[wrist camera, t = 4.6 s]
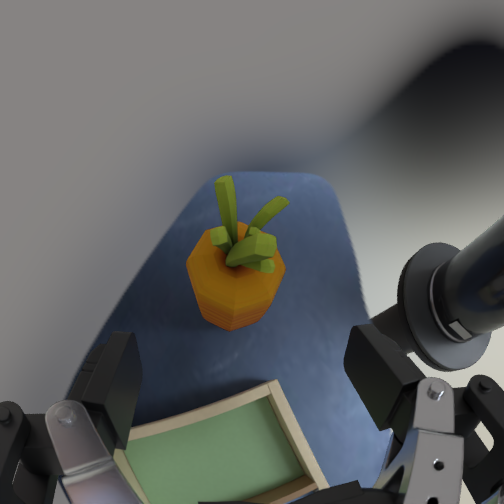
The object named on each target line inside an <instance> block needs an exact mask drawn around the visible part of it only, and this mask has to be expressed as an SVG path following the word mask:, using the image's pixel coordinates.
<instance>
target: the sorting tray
mask: <svg viewBox="0 0 504 504" xmlns="http://www.w3.org/2000/svg"><path fill="white" fill-rule="evenodd" d="M113 459H114V460H115V462H116V463H117V465H118V467H119V468H120V470H121V471H122V473H123V474H124V476H125V477H126V479H127V480H128V482H129V483H130V485H131V486H132V487H133V489H134V490H135V492H136V493H137V494H138V496H139V497H140V499H141V500H142V501H143V502H144V504H198V501H199V502H220V501H245V502H253V503H263V504H288V503H291V502H293V501H296V500H298V499H301V498H303V497H306V496H308V495H310V494H313V493H315V492H317V491H319V490H321V489H325V488H329V485H328V483H327V481H326V479H325V477H324V475H323V473H322V471H321V469H320V467H319V465H318V463H317V461H316V459H315V457H314V455H313V453H312V451H311V449H310V447H309V445H308V443H307V441H306V439H305V437H304V435H303V433H302V430H301V428H300V426H299V424H298V422H297V420H296V418H295V416H294V414H293V412H292V410H291V408H290V405H289V403H288V401H287V399H286V397H285V395H284V393H283V391H282V388H281V386H280V384H279V382H278V380H277V379H275V380H270V381H267V382H265V383H262V384H260V385H257V386H255V387H253V388H250V389H248V390H245V391H243V392H240V393H238V394H235V395H233V396H230V397H227V398H225V399H222V400H219V401H217V402H214V403H211V404H208V405H205V406H202V407H199V408H196V409H193V410H190V411H187V412H184V413H181V414H178V415H175V416H171V417H168V418H165V419H161V420H158V421H154V422H150V423H147V424H143V425H139V426H135V427H131V429H130V433H129V438H128V443H127V448H126V450H121V449H115V452H114V456H113Z"/></svg>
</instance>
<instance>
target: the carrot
mask: <svg viewBox="0 0 504 504" xmlns="http://www.w3.org/2000/svg"><path fill="white" fill-rule="evenodd" d="M214 184H215V192H216V196H217V201H218V205H219V210H220V215H221V220H222V225H223V226H220V227H216V228H212V229H208V230H205V232H204V234H203V235H202V237H201V238H200V240H199V242H198V243H197V245H196V246H195V248H194V250H193V251H192V253H191V254H190V256H189V258H188V259H187V261H186V267H187V270H188V274H189V277H190V280H191V284H192V287H193V290H194V293H195V296H196V299H197V303H198V306H199V309H200V311H201V314H202V316H203V318H204V319H206V320H207V321H209V322H210V323H212V324H214V325H216V326H219V327H221V328H223V329H225V330H227V331H229V332H230V331H233V330H236V329H239V328H242V327H245V326H248V325H251V324H253V323H255V322H258V321H259V320H260V319H261V317H262V316H263V315H264V314H265V312H266V311H267V310H268V308H269V307H270V305H271V303H272V301H273V299H274V296H275V294H276V292H277V290H278V287H279V285H280V283H281V281H282V278H283V276H284V274H285V271H286V268H285V265H284V262H283V260H282V258H281V256H280V254H279V251H278V249H277V241H276V237H275V236H273V235H270V234H267V233H264V232H262V231H260V230H261V229H262V228H263V227H264V225H265V224H266V223H267V222H269V221H270V220H271V219H272V218H273V217H274V216H275V215H276V214H277V213H279V212H280V211H281V210H283V209H284V208H285V207H286V206H287V205H288V204H289V203H290V202H289V201H288V200H287V199H286V198H284V197H281V196H277V197H275V198H274V199H272V200H271V201H270V202H268V203H267V204H266V205H265V206H264V207H263V208H262V209H261V210H260V211H259V212H258V214H257V215H256V216H255V217H254V219H253V220H252V221H251V223H250V224H249V225H246V224H244V223H242V222H240V221H239V222H237V207H236V194H235V188H234V183H233V179H232V176H227V175H226V176H223V177H220V178H219V179H217V180H216V181H215V183H214Z"/></svg>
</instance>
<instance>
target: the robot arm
mask: <svg viewBox="0 0 504 504" xmlns="http://www.w3.org/2000/svg"><path fill="white" fill-rule="evenodd" d="M428 304H429V309H430V312H431V315H432V318H433V320H434V322H435V324H436V326H437V328H438V329H439V331H440V332H441V333H442V334H443V335H444V336H445V337H446V338H447V339H449V340H450V341H452V342H455V343H465V342H468V341H470V340H472V339H474V338H476V337H478V336H481V335H483V334H486V333H489V332H491V331H494V330H496V329H498V328H501V327H503V326H504V215H503V216H502V217H501V218H500V219H499V220H497V221H496V222H495V223H494V224H493V225H492V226H490V227H489V228H488V229H487V230H486V231H485V232H484V233H482V234H481V235H480V236H479V237H477V238H476V239H475V240H474V241H473V242H471V243H470V244H469V245H468V246H466V247H465V248H464V249H463V250H461V251H460V252H459V253H457V254H456V255H455V256H453V257H452V258H451V259H449V260H448V261H447V262H445V263H443V264H441V265H440V266H438V267H437V268H436V269H435V270H434V271H433V273H432V275H431V277H430V279H429V283H428ZM344 369H345V372H346V374H347V376H348V377H349V379H350V381H351V382H352V384H353V386H354V388H355V389H356V391H357V393H358V394H359V396H360V398H361V400H362V401H363V403H364V405H365V407H366V408H367V410H368V412H369V414H370V415H371V417H372V419H373V421H374V422H375V424H376V426H377V428H378V429H379V431H382V430H385V429H388V428H392V430H393V433H392V434H391V437H390V440H389V444H388V448H387V451H386V455H385V459H384V462H383V465H382V469H381V472H380V475H379V477H378V479H377V481H376V483H375V484H374V486H373V488H361V487H360V484H359V482H358V480H356V481H352V482H349V483H345V484H341V485H337V486H334V487H329V488H325V489H321V490H319V491H317V492H315V493H313V494H310V495H308V496H306V497H303V498H301V499H298V500H296V501H293V502H291V503H288V504H459V501H460V493H461V485H462V479H463V481H464V483H465V485H466V486H467V488H468V490H469V492H470V494H471V495H472V497H473V499H474V501H475V503H476V504H504V391H503V390H502V388H501V387H499V385H498V384H497V383H496V382H495V381H494V380H493V379H492V378H490V377H488V376H485V375H475V376H473V377H472V378H471V379H470V381H469V383H468V385H467V387H461V388H452V387H451V386H450V385H449V384H448V383H447V382H446V381H444V380H442V379H440V378H435V377H428V378H427V377H426V376H425V375H424V374H423V373H422V372H421V371H420V369H419V368H418V367H417V366H416V365H415V364H414V362H413V361H412V360H411V359H410V358H409V357H407V354H406V353H405V352H404V351H403V350H401V348H400V347H399V345H398V344H397V343H396V342H395V341H394V340H392V339H391V338H389V337H387V336H386V335H384V334H383V335H382V334H381V333H380V332H379V331H378V329H377V328H376V327H375V326H374V325H373V324H365V325H356V326H353V327H352V329H351V331H350V335H349V340H348V344H347V348H346V352H345V355H344ZM141 383H142V364H141V360H140V355H139V351H138V346H137V341H136V337H135V334H134V333H133V332H117V331H114V332H113V333H112V334H111V336H110V338H109V340H108V342H107V344H100V345H99V346H97V347H96V348H95V349H94V350H93V351H91V353H90V355H89V357H88V358H87V360H86V363H85V364H84V366H83V368H82V371H81V372H80V374H79V376H78V378H77V380H76V382H75V384H74V386H73V388H72V390H71V392H70V394H69V396H68V399H67V400H62V401H59V402H56V403H55V404H53V405H52V406H51V407H50V408H49V409H48V410H47V412H46V414H24V413H23V411H22V409H21V408H20V406H19V405H18V404H16V403H14V402H10V401H5V402H1V403H0V504H52V503H53V498H54V493H55V489H56V484H57V480H58V475H64V476H62V482H63V485H64V487H65V490H66V492H67V494H68V496H69V498H70V500H71V502H72V504H144V502H143V501H142V500H141V499H140V497H139V496H138V494H137V493H136V492H135V490H134V489H133V487H132V486H131V485H130V483H129V482H128V480H127V479H126V477H125V476H124V474H123V473H122V471H121V470H120V468H119V467H118V465H117V463H116V462H115V460H114V459H113V456H114V452H115V449H121V450H126V448H127V443H128V438H129V433H130V429H131V424H132V420H133V415H134V411H135V407H136V403H137V399H138V395H139V391H140V387H141ZM480 421H482V423H483V424H484V426H485V427H486V428H487V430H488V431H489V432H490V434H491V435H492V437H493V439H494V445H493V448H492V449H491V451H490V452H489V451H488V449H487V448H486V446H485V445H484V443H483V442H482V440H481V439H480V438H479V436H478V435H477V433H476V432H475V431H474V429H475V428H476V427H477V425H478V424H479V423H480ZM18 462H20V463H19V466H18V469H17V472H16V475H15V478H14V474H15V471H16V468H17V465H18ZM13 478H14V481H13ZM12 481H13V485H12ZM198 504H263V503H253V502H245V501H220V502H199V501H198Z"/></svg>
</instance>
